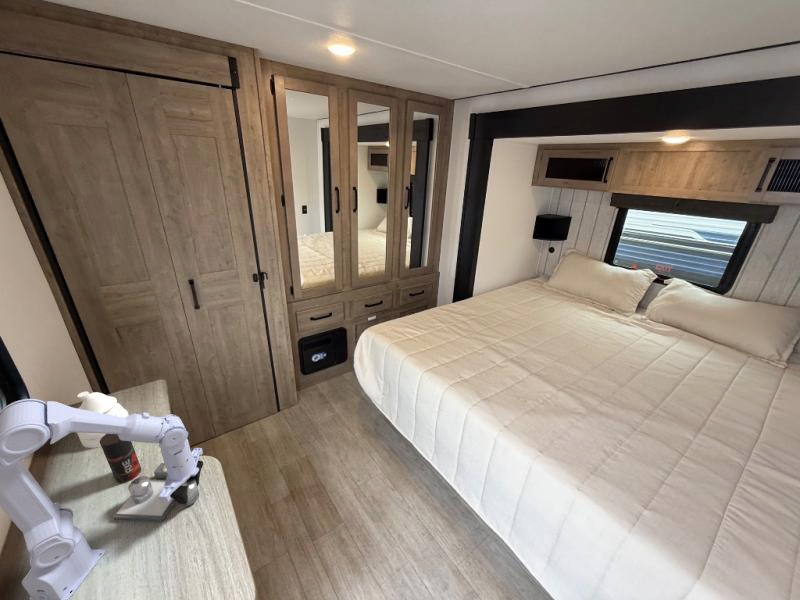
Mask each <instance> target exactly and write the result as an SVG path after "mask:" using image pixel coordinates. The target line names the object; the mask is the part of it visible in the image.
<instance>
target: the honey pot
mask: <svg viewBox="0 0 800 600" xmlns="http://www.w3.org/2000/svg"><path fill="white" fill-rule="evenodd" d="M77 398H78V399H79V400H83V401H82V403H81V405H80V406H79V407H77V409H82V410H87V411H93V412H98V413H103V414H108V415H113V416H118V417H123V418H125V417H127V416H129V415H130V414H129V412H128V410H127V409H125V408H124V407H123V406H122V404H120V403H119V402H118V400H117V398H116V397H114V396H111V395H106V394H104V393H102V392H97V391H96V392H89V391H81V392H79V393H78V394H77ZM76 434H77V436H78V438H79V441H80V443H81V445H82V446H83V447H84V448H87V449H88V448H89V449H95V448H102V447H101V445H100V439H101V438H102V437H103V436H104V435H105V434H102V433H78V432H76Z"/></svg>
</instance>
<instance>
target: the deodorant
mask: <svg viewBox="0 0 800 600" xmlns="http://www.w3.org/2000/svg"><path fill="white" fill-rule="evenodd" d="M100 445H101V447H100V448H101V449H102V452H103V454H104V457H105V459H106V461H107V463H108V466H109V468H110V471H111V472H112V476H113V477H114V480H115V482H116V483H118V484H125V483H129V482H130V481H131V482H132V481H133V480H135V479H136V478H138V476H139V475H140V473H141V471H142V467H141V463H140V462H139V461H140V460H139V458H138V456H137V452H136V450H135V448H134V445H133V441H122V440H120V438H119V436H118V434H105V435H104V436H103V437H102V438H101V439H100Z"/></svg>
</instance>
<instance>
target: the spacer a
mask: <svg viewBox="0 0 800 600" xmlns="http://www.w3.org/2000/svg"><path fill="white" fill-rule="evenodd" d="M149 479H150V477H148V476H147V475H143V476H139V477H135V478H134V479H132V480H131V482H130V483H129V485H128V487H127V489H128V491H129V494H130V496H131V497H132V499H133V502H134V503H135V504H141V503H143V502H146V501H147V500H148V499H150V498H151V497H152V495H153V493H154V491H153V488H152V485H151V483H150V480H149Z"/></svg>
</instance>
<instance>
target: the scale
mask: <svg viewBox="0 0 800 600" xmlns="http://www.w3.org/2000/svg"><path fill="white" fill-rule="evenodd" d="M153 473H154V476H155V478H149V480H150V483H151V485H152V488H153V491H154V493H153V495H152V497H151V498H150V499H148V500H147V501H146V502H143V503H141V504H135V503H134V502H133V499H132V497H131V495H130V496H128V498H127V500H125V502H124V503H123V504H122V506H120V508H119V509H118V510H117V511H116V513H115V514H114V515H113V516H112V519H113V521H123V522H124V521H127V522H128V521H130V522H151V523H153V522H155V523H156V522H159V523H162V522H163V521H164V520H165V519H166V517H167V516H168V514H169V513H170V511H171V510H172V509H173V507H174V506H175V504H176V503H177V502H176V501H175V500H174V499H173V498H171V499H170V500H169V502H160V500H159V495H160V494H161V492H162V490H163V487H164V484H165V481H166V479H167V476H168V472H167V469H166V466H165V463H164V462H161V463H160V464H159V465H158V466H157V468H156V469H155V470H154V471H153Z"/></svg>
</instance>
